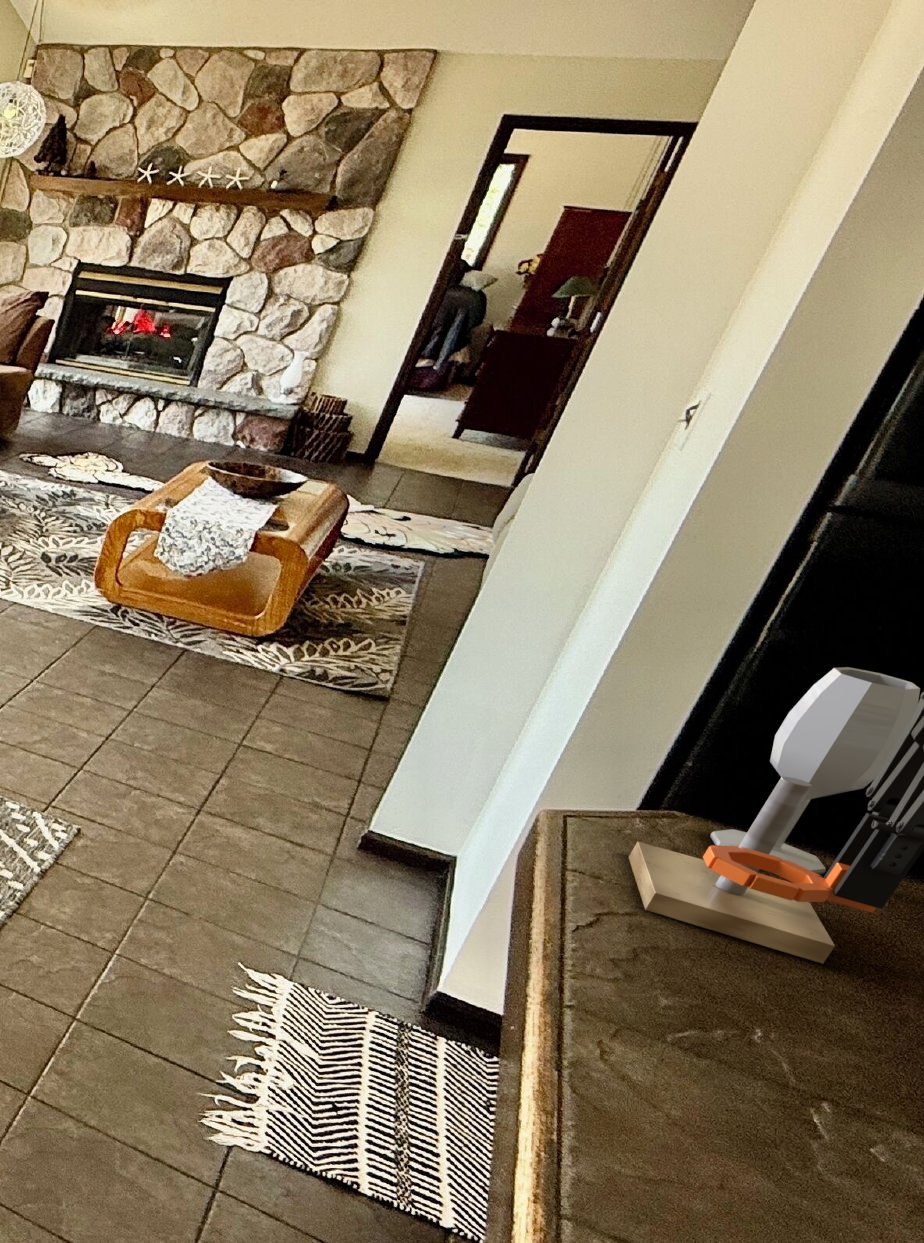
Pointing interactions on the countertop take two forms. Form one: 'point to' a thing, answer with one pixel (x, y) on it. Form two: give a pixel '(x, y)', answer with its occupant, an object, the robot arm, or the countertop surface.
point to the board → (725, 909)
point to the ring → (804, 880)
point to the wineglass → (836, 742)
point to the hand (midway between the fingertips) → (852, 892)
